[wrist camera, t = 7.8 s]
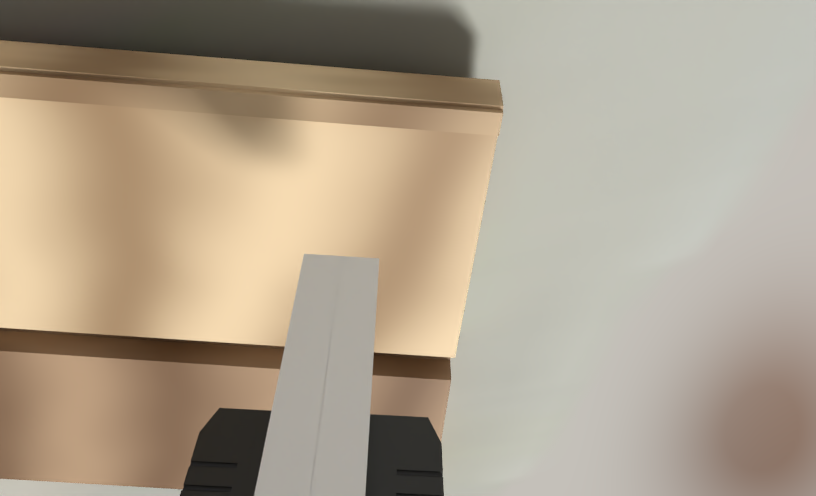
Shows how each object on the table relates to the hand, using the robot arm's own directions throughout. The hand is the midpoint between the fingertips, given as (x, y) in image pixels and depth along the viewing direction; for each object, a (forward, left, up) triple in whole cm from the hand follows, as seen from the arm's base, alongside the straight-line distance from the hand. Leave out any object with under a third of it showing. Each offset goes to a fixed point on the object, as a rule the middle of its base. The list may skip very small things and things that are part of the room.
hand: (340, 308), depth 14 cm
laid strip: (-7, -10, -6) cm, 13 cm away
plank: (-7, -1, -5) cm, 9 cm away
